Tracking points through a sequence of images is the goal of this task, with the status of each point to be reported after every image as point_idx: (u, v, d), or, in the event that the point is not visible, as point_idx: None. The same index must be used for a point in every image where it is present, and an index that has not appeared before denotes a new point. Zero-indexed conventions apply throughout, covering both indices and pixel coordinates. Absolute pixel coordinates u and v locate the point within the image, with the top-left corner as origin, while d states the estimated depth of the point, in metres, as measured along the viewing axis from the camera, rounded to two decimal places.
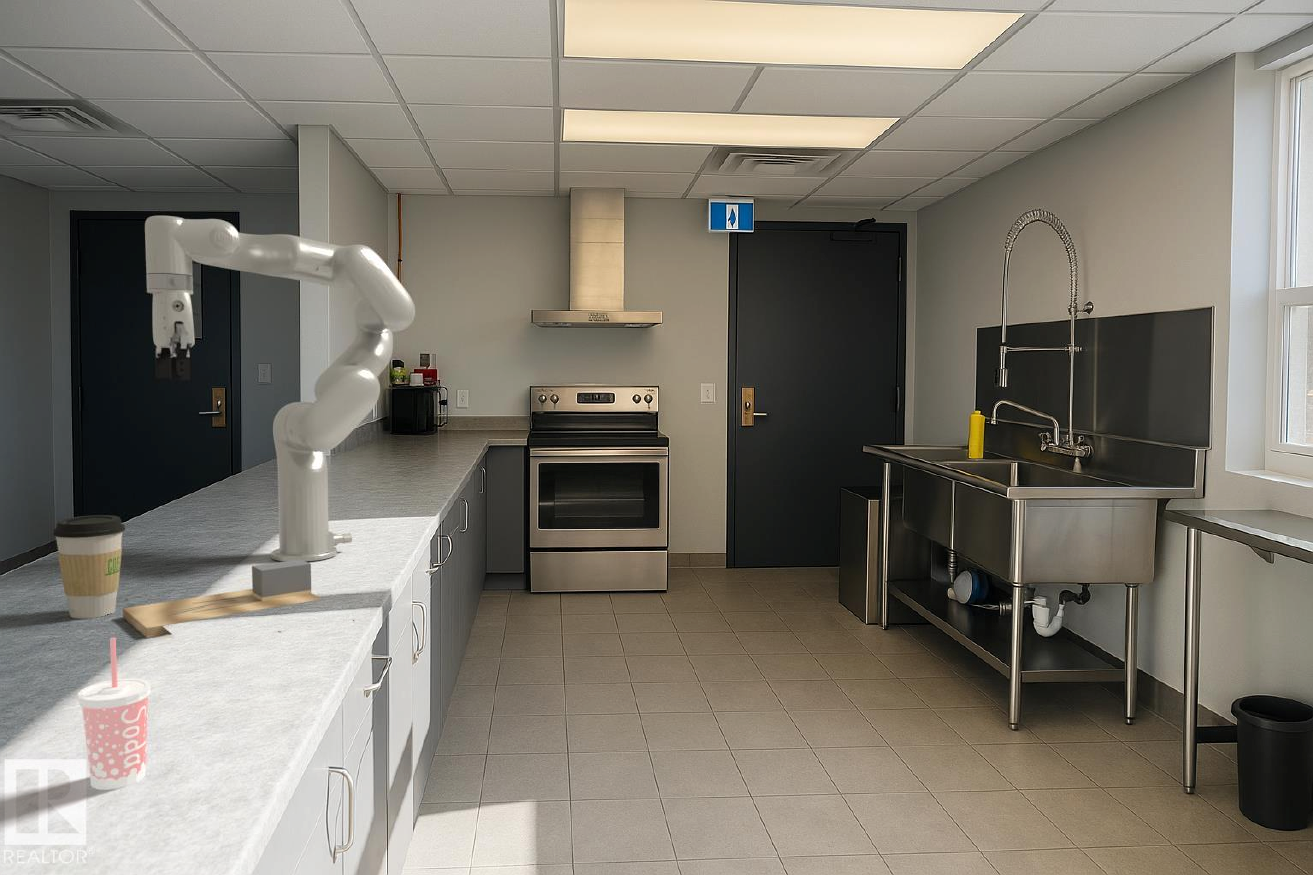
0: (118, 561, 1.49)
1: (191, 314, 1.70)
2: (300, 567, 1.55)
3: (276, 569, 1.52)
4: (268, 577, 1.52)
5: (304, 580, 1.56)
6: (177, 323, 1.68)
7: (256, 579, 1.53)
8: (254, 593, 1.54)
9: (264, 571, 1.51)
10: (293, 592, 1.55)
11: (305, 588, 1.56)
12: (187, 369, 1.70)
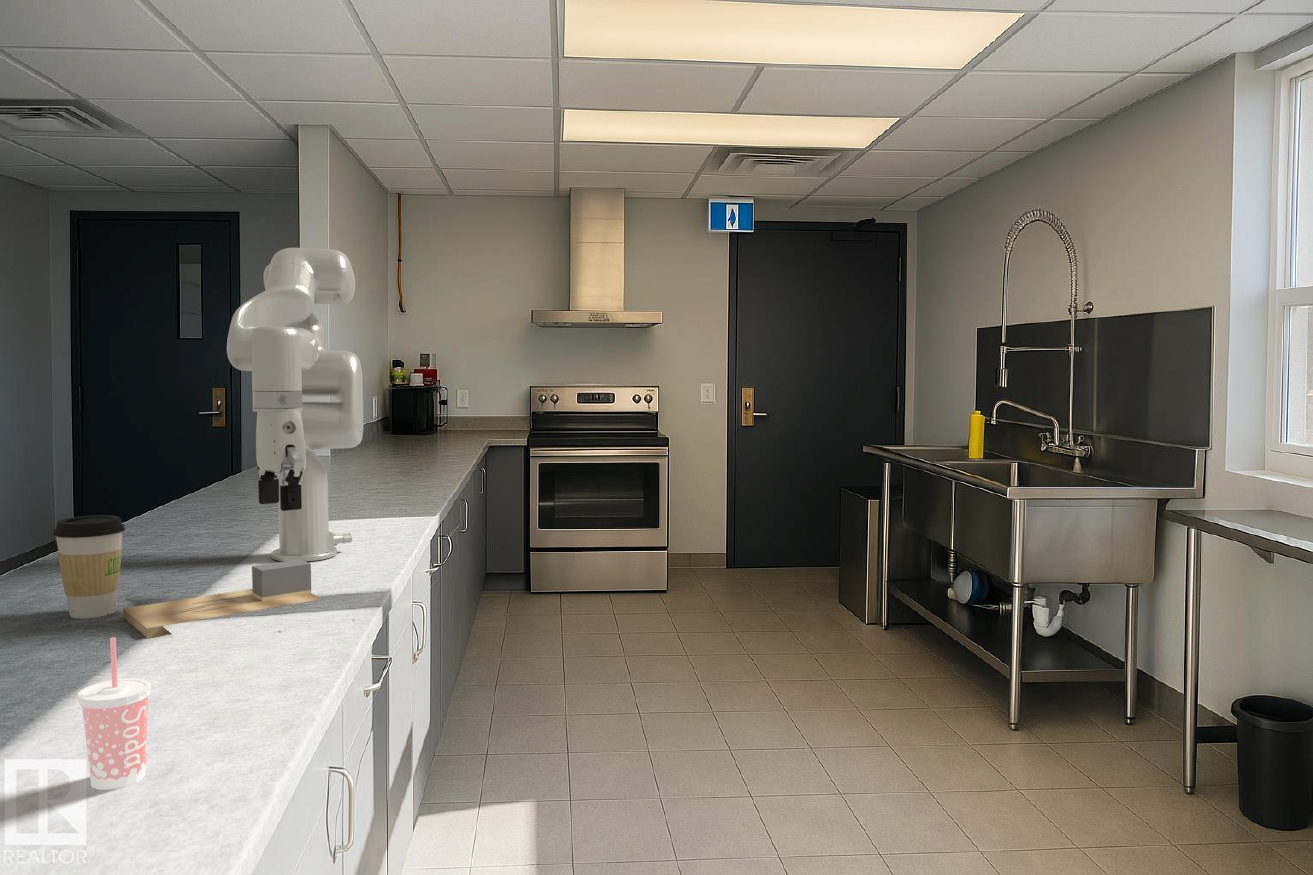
0: (118, 561, 1.49)
1: (303, 435, 1.51)
2: (300, 567, 1.55)
3: (276, 569, 1.52)
4: (268, 577, 1.52)
5: (304, 580, 1.56)
6: (288, 447, 1.49)
7: (256, 579, 1.53)
8: (254, 593, 1.54)
9: (264, 571, 1.51)
10: (293, 592, 1.55)
11: (305, 588, 1.56)
12: (298, 497, 1.51)
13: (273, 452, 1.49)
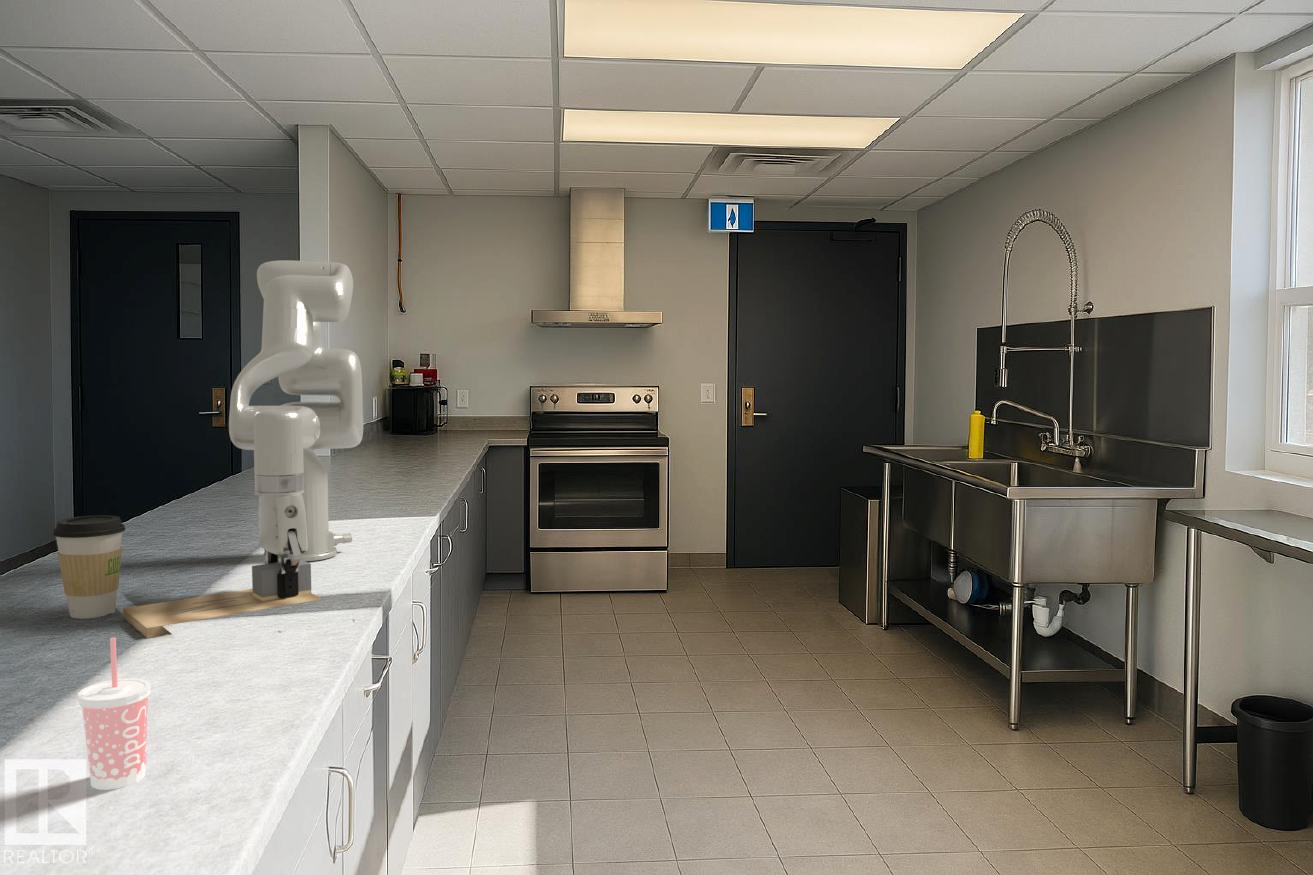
0: (118, 561, 1.49)
1: (304, 518, 1.52)
2: (300, 567, 1.55)
3: (276, 569, 1.52)
4: (268, 577, 1.52)
5: (304, 580, 1.56)
6: (290, 535, 1.51)
7: (256, 579, 1.53)
8: (254, 593, 1.54)
9: (264, 571, 1.51)
10: None
11: (305, 588, 1.56)
12: (295, 584, 1.54)
13: (275, 536, 1.50)
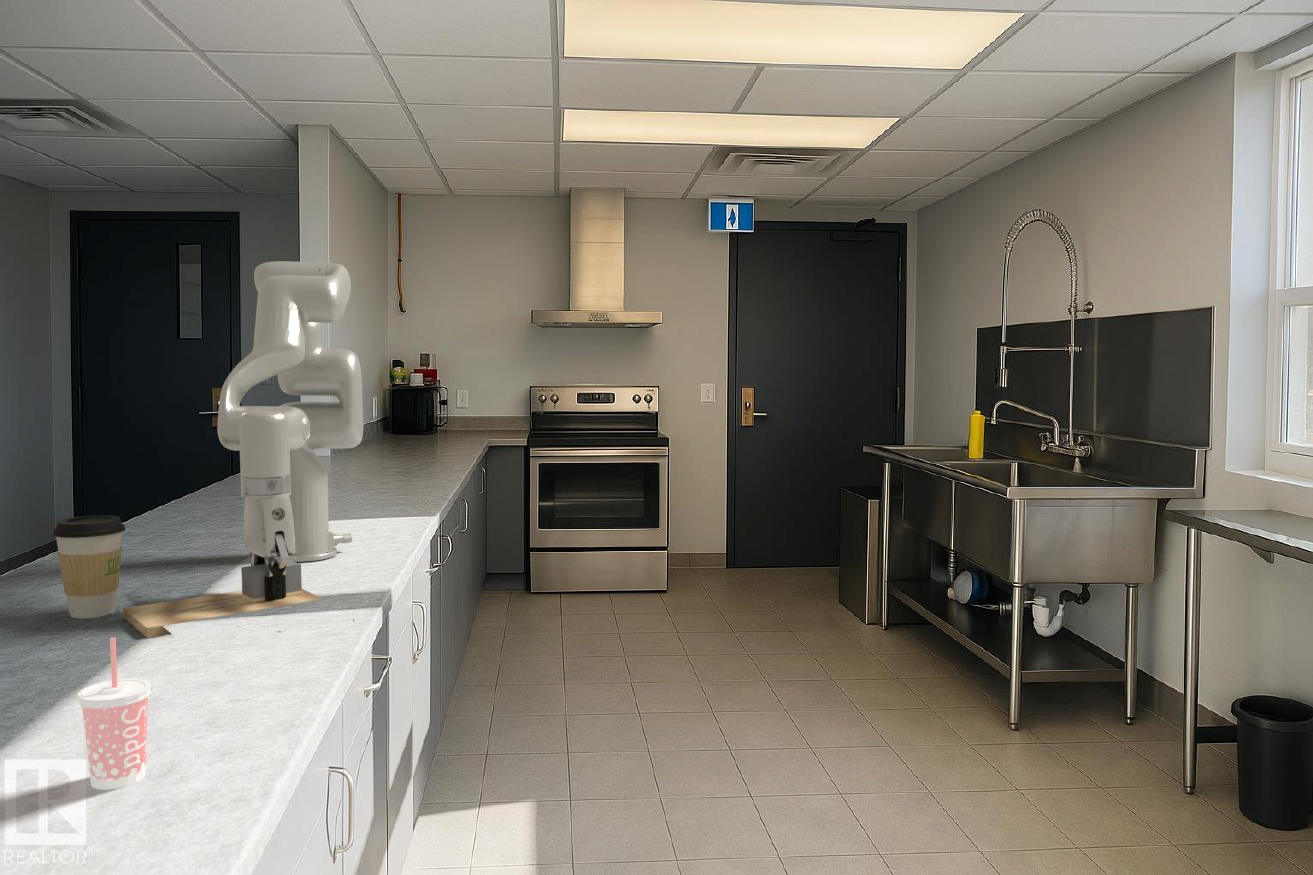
0: (118, 561, 1.49)
1: (292, 520, 1.51)
2: (290, 568, 1.54)
3: None
4: (258, 578, 1.51)
5: (294, 581, 1.55)
6: (277, 538, 1.49)
7: (246, 580, 1.52)
8: (244, 595, 1.53)
9: (254, 572, 1.50)
10: None
11: (295, 589, 1.55)
12: (283, 587, 1.53)
13: (262, 539, 1.49)
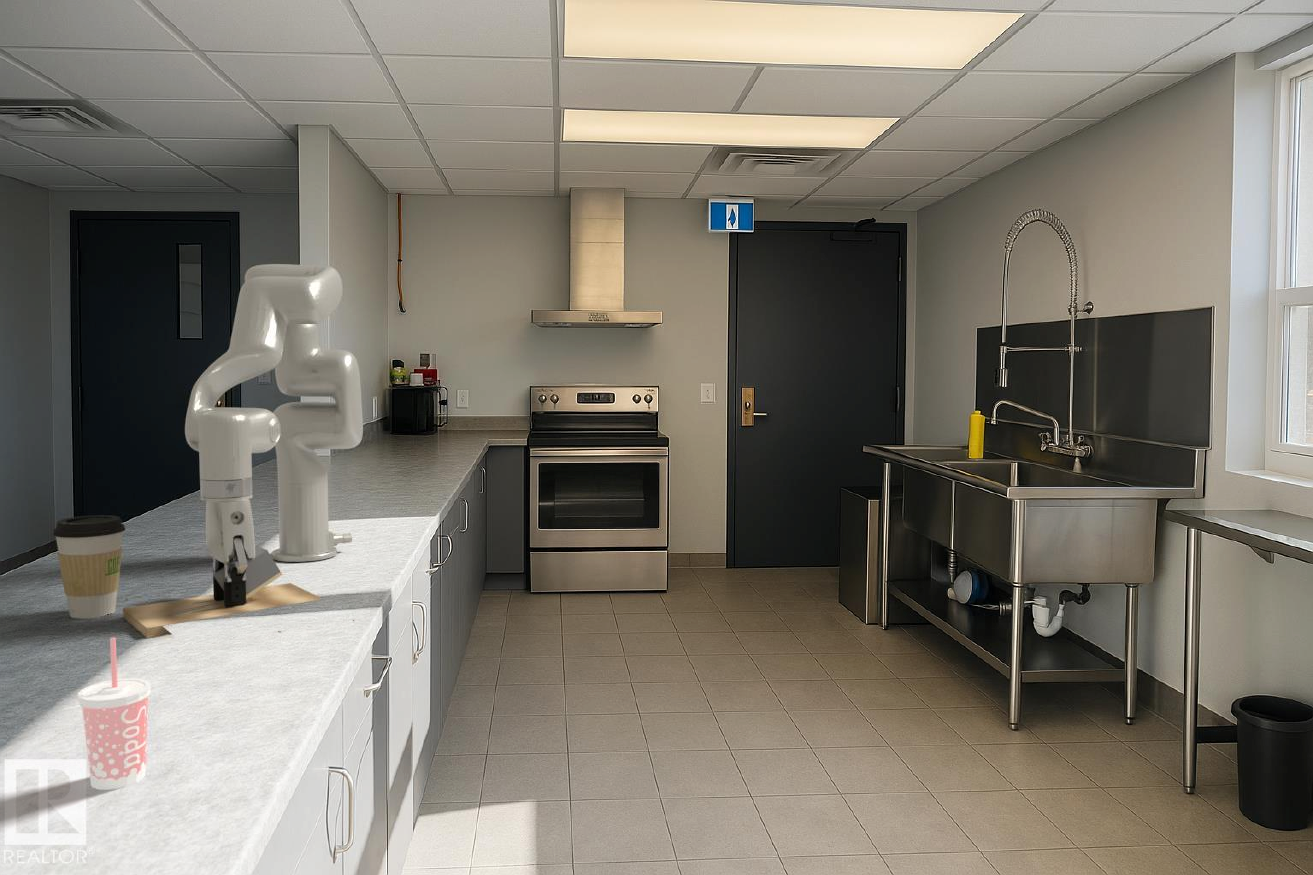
0: (118, 561, 1.49)
1: (252, 524, 1.47)
2: (258, 558, 1.50)
3: None
4: None
5: (268, 567, 1.52)
6: (236, 542, 1.45)
7: (222, 586, 1.50)
8: None
9: (225, 579, 1.47)
10: (264, 582, 1.51)
11: (274, 573, 1.52)
12: (243, 593, 1.49)
13: (221, 543, 1.45)
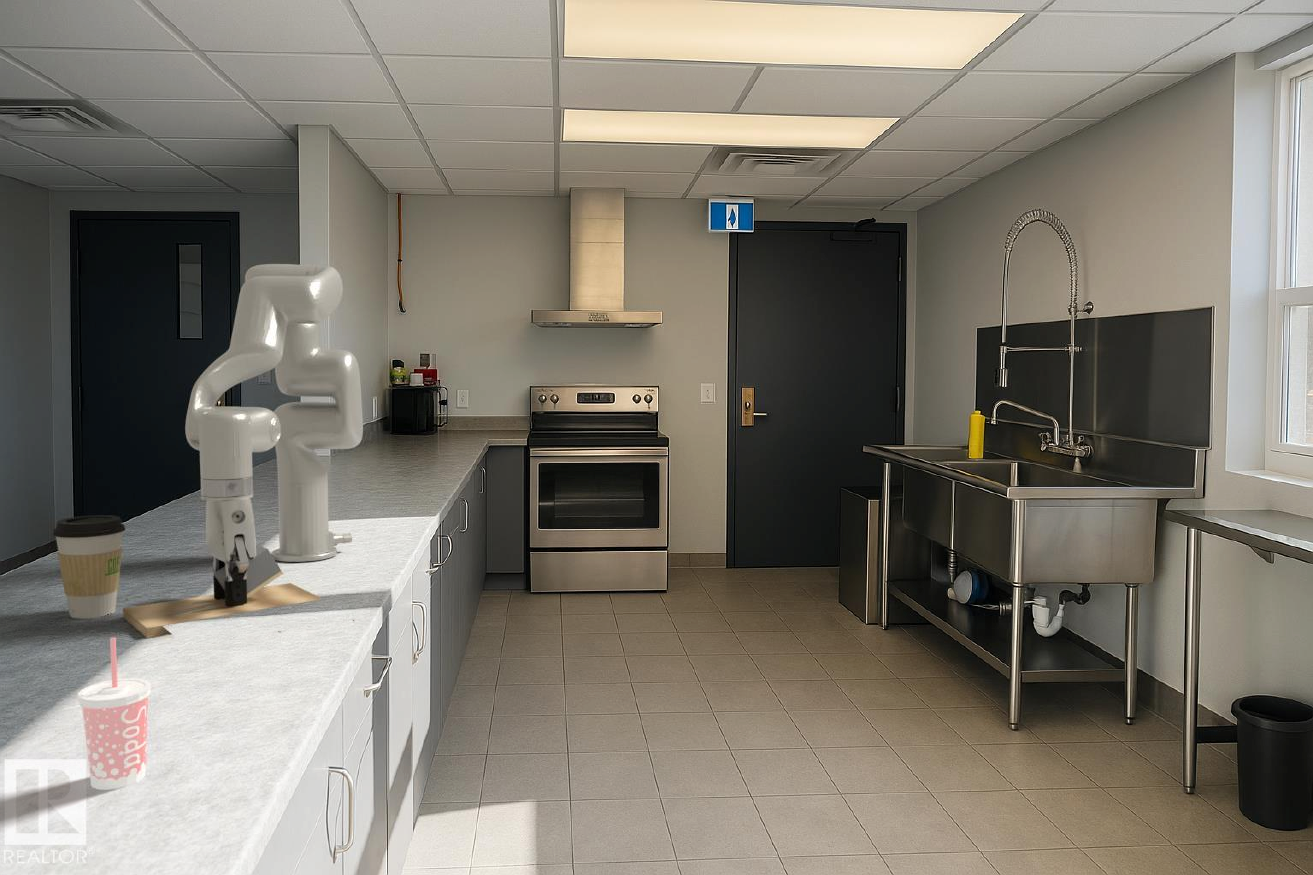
0: (118, 561, 1.49)
1: (253, 523, 1.47)
2: (259, 557, 1.50)
3: None
4: None
5: (269, 566, 1.52)
6: (237, 541, 1.45)
7: (223, 585, 1.50)
8: None
9: (226, 578, 1.47)
10: (265, 581, 1.51)
11: (275, 572, 1.52)
12: (244, 592, 1.49)
13: (222, 542, 1.45)
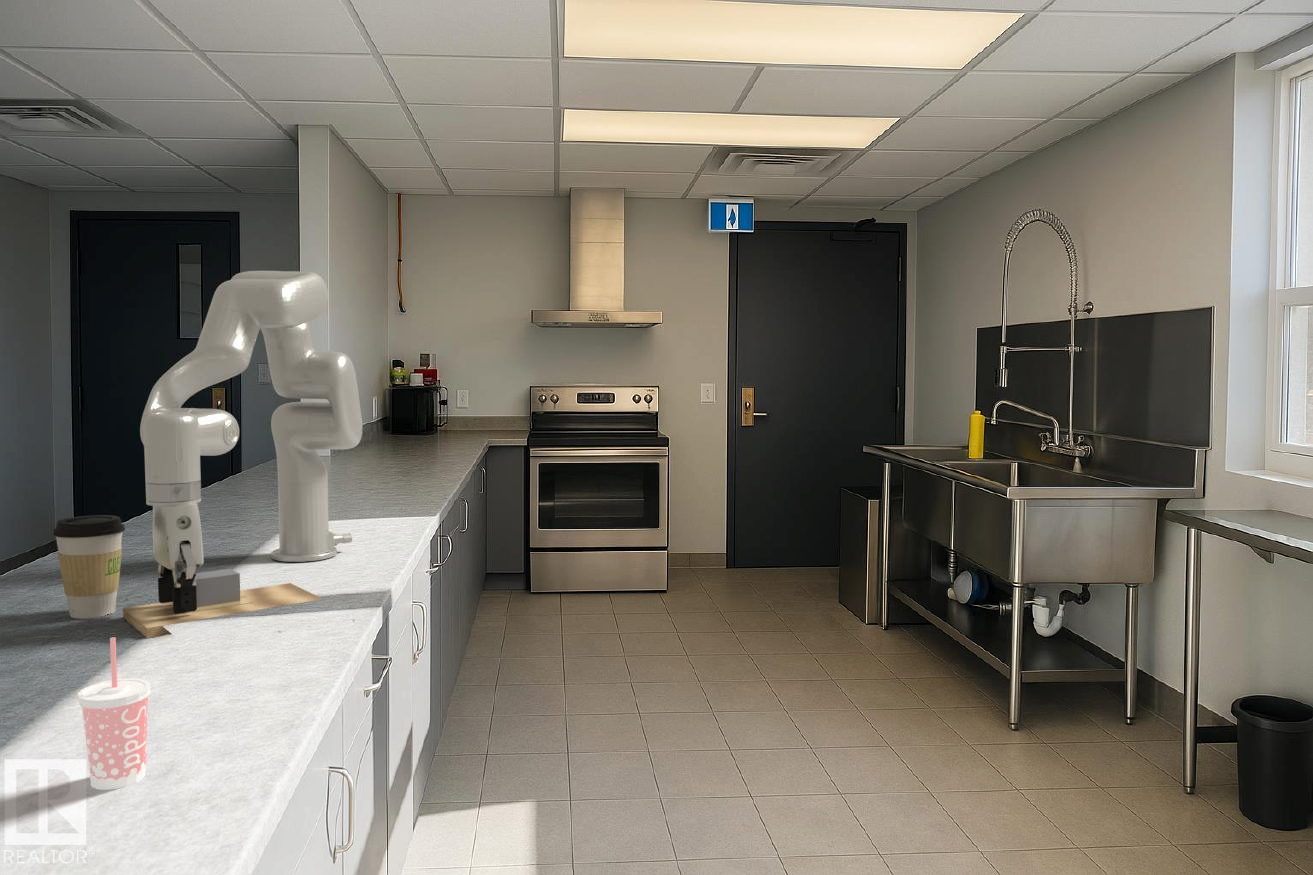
0: (118, 561, 1.49)
1: (199, 529, 1.42)
2: (228, 577, 1.47)
3: (201, 579, 1.45)
4: None
5: (232, 591, 1.48)
6: (183, 545, 1.40)
7: None
8: None
9: None
10: (220, 603, 1.47)
11: (233, 599, 1.48)
12: (193, 598, 1.42)
13: (166, 549, 1.40)
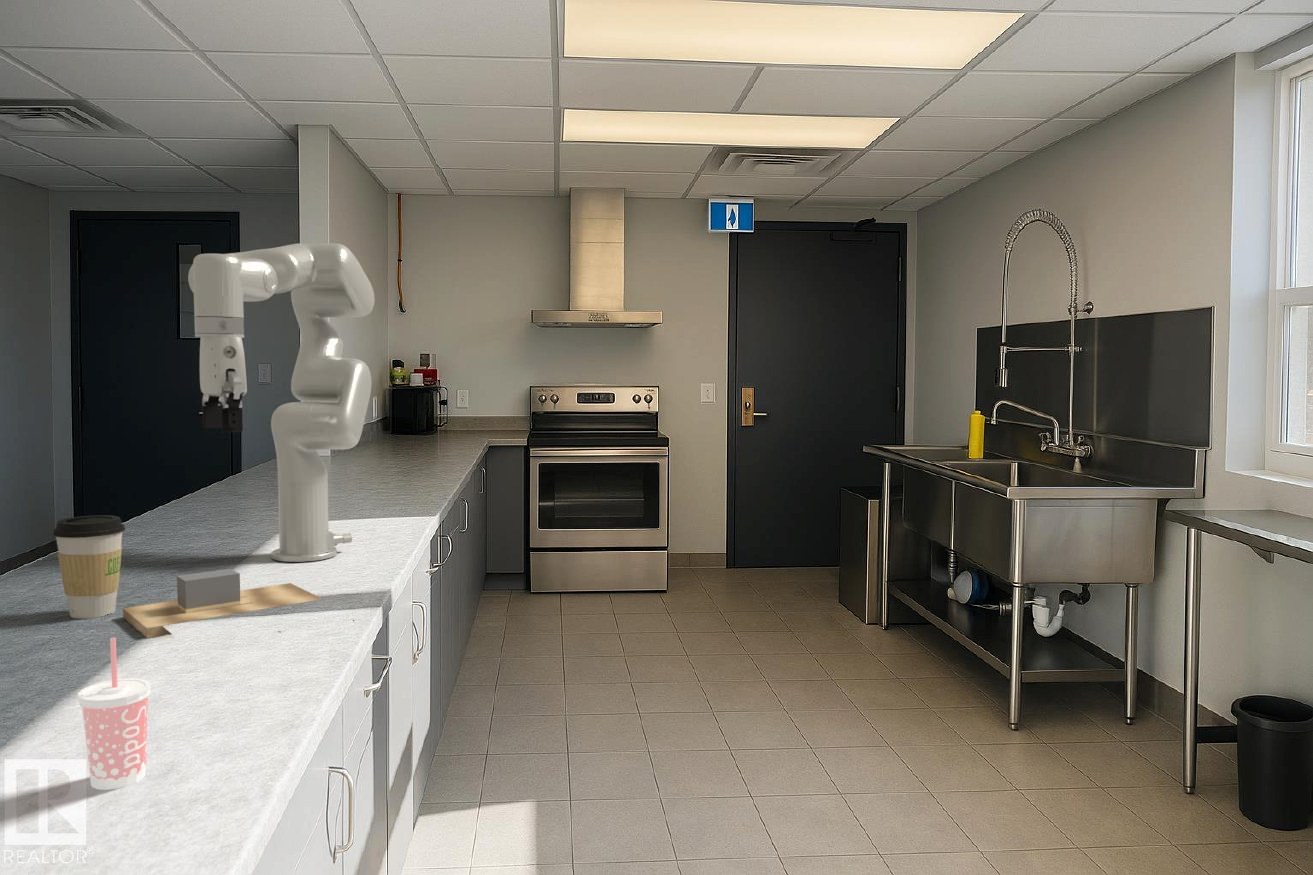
0: (118, 561, 1.49)
1: (243, 360, 1.56)
2: (228, 577, 1.47)
3: (201, 579, 1.45)
4: (193, 587, 1.44)
5: (232, 591, 1.48)
6: (229, 371, 1.54)
7: (180, 590, 1.45)
8: (179, 604, 1.46)
9: (188, 581, 1.44)
10: (220, 603, 1.47)
11: (233, 599, 1.48)
12: (239, 420, 1.56)
13: (214, 376, 1.54)
